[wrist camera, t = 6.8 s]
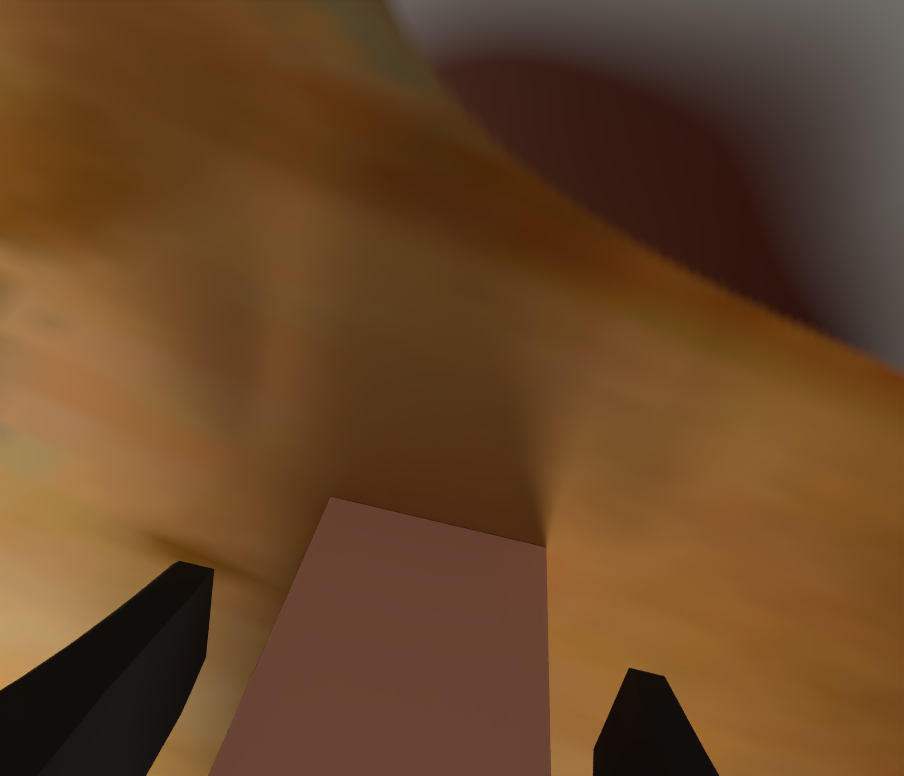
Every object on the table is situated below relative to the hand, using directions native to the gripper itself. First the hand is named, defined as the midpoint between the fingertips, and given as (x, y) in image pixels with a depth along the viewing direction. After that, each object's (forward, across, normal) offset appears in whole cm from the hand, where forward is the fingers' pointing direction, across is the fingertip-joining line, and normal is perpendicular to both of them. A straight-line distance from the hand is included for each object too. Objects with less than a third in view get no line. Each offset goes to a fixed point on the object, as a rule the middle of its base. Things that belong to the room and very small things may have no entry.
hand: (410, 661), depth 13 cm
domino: (+3, 0, 0) cm, 3 cm away
